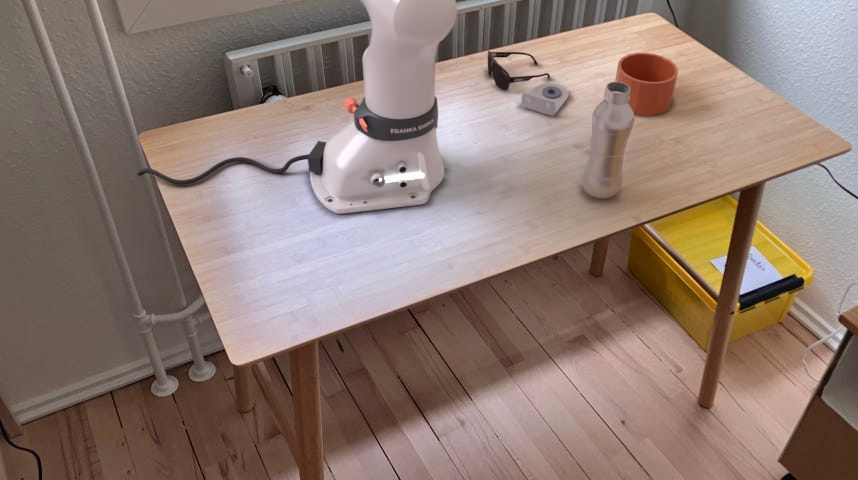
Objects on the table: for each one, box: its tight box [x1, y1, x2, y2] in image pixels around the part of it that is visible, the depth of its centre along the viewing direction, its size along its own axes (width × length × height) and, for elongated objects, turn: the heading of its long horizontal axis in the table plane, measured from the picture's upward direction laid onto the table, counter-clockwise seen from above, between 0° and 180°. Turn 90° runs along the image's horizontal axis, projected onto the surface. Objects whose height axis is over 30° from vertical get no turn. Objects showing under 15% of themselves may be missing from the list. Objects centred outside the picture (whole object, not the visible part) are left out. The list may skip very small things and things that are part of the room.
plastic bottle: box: [581, 81, 636, 199], centre depth 133 cm, size 6×7×20 cm
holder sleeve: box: [614, 52, 679, 117], centre depth 159 cm, size 11×11×7 cm
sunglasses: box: [487, 50, 551, 91], centre depth 165 cm, size 10×12×5 cm
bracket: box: [521, 82, 570, 117], centre depth 159 cm, size 7×10×4 cm, turn 153°
